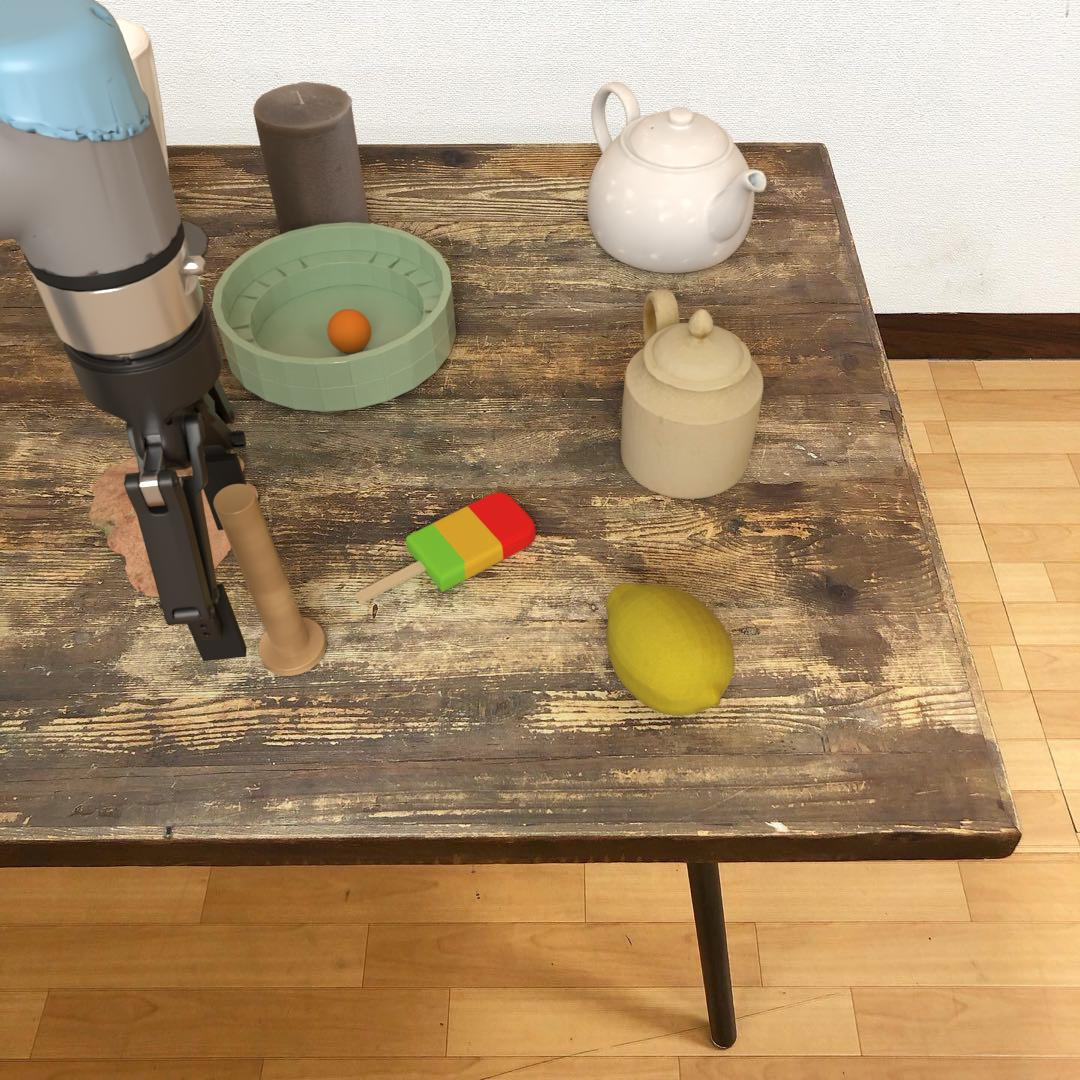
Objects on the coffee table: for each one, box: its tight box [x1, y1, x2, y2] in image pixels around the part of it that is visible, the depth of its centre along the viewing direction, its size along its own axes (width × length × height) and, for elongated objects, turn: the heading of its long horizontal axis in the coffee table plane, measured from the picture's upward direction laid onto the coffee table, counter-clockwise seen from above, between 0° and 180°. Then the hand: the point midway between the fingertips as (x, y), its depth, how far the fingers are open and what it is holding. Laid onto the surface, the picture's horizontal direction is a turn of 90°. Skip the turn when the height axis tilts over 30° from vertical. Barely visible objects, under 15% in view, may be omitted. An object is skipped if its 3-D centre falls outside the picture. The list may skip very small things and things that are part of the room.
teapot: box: [586, 81, 768, 274], centre depth 108 cm, size 19×18×14 cm
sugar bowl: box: [620, 288, 764, 500], centre depth 86 cm, size 15×11×15 cm
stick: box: [213, 484, 327, 677], centre depth 72 cm, size 5×5×16 cm
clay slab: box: [88, 450, 259, 598], centre depth 85 cm, size 15×13×3 cm
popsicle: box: [354, 491, 537, 604], centre depth 83 cm, size 6×15×2 cm, turn 125°
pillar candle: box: [253, 81, 370, 235], centre depth 110 cm, size 10×10×15 cm
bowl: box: [211, 222, 457, 413], centre depth 100 cm, size 22×22×6 cm
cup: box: [114, 17, 209, 258], centre depth 105 cm, size 12×12×22 cm
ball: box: [327, 309, 371, 353], centre depth 99 cm, size 4×4×4 cm
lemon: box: [605, 582, 736, 717], centre depth 73 cm, size 11×8×8 cm
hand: (231, 586), depth 72 cm, fingers open, 11 cm apart
